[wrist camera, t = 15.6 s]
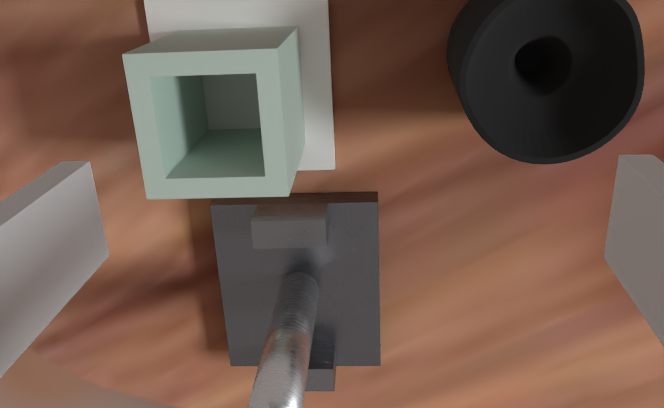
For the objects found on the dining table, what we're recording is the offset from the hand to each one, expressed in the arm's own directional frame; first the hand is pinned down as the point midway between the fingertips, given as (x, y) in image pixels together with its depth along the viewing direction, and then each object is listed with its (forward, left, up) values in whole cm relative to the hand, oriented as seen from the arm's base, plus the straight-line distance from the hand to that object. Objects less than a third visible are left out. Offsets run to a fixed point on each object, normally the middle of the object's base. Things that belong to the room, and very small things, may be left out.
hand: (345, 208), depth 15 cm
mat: (+2, -8, -27) cm, 29 cm away
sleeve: (+2, -8, -27) cm, 28 cm away
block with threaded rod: (+17, -5, -27) cm, 33 cm away
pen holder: (0, +10, -28) cm, 29 cm away
